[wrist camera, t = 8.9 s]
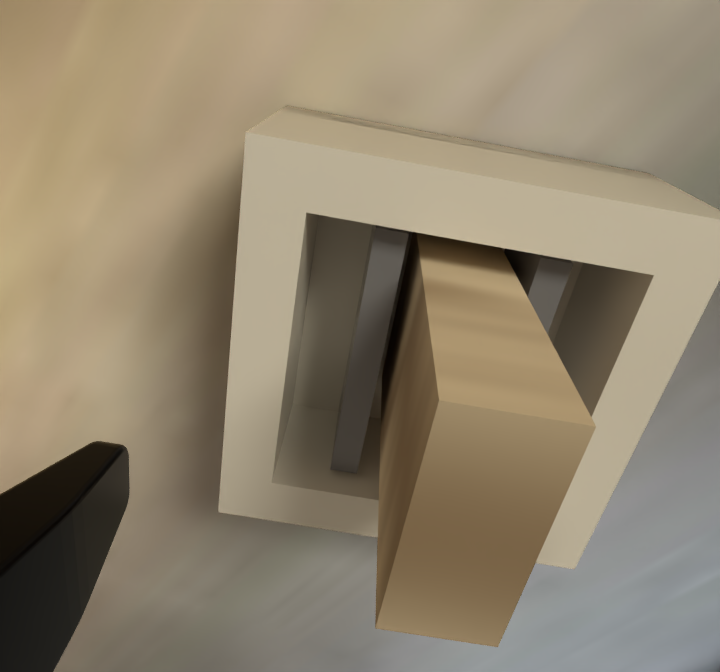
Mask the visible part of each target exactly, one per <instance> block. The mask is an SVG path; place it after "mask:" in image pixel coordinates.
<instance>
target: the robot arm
mask: <svg viewBox="0 0 720 672" xmlns="http://www.w3.org/2000/svg"><path fill="white" fill-rule="evenodd" d="M128 499H129V455H128V451H127V448H126V447H125V446H123V445H120V444H114V443H108V442H102V441H96V442H92V443H90V444H88V445H86V446H85V447H83V448H81V449H79V450H78V451H76V452H74V453H72V454H71V455H69V456H67V457H65V458H63V459H62V460H60V461H58V462H56V463H55V464H53V465H51V466H49V467H48V468H46V469H44V470H42V471H41V472H39V473H37V474H35V475H33V476H32V477H30V478H28V479H26V480H25V481H23V482H21V483H19V484H18V485H16V486H14V487H12V488H11V489H9V490H7V491H5V492H3V493H2V494H0V672H53V671H54V669H55V667H56V665H57V663H58V662H59V660H60V658H61V656H62V654H63V652H64V650H65V649H66V647H67V645H68V643H69V641H70V639H71V637H72V635H73V633H74V631H75V629H76V627H77V625H78V623H79V621H80V619H81V617H82V615H83V613H84V610H85V608H86V606H87V603H88V601H89V599H90V596H91V594H92V591H93V589H94V586H95V584H96V581H97V579H98V576H99V574H100V571H101V569H102V567H103V564H104V562H105V559H106V557H107V554H108V552H109V549H110V547H111V544H112V542H113V539H114V537H115V534H116V532H117V529H118V527H119V524H120V522H121V519H122V517H123V515H124V512H125V509H126V507H127V503H128Z"/></svg>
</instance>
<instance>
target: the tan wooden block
mask: <svg viewBox="0 0 720 672" xmlns="http://www.w3.org/2000/svg"><path fill="white" fill-rule="evenodd" d="M595 428H596V425H595V423H594V421H593V420H592V418H591V416H590V414H589V412H588V410H587V408H586V406H585V404H584V403H583V401H582V399H581V397H580V395H579V393H578V391H577V389H576V387H575V386H574V384H573V382H572V380H571V378H570V376H569V374H568V372H567V370H566V369H565V367H564V365H563V363H562V361H561V359H560V357H559V355H558V353H557V352H556V350H555V348H554V346H553V344H552V342H551V340H550V338H549V336H548V335H547V333H546V331H545V329H544V327H543V325H542V323H541V321H540V319H539V318H538V316H537V314H536V312H535V310H534V308H533V306H532V304H531V302H530V301H529V299H528V297H527V295H526V293H525V291H524V289H523V287H522V285H521V284H520V282H519V280H518V278H517V276H516V274H515V272H514V270H513V268H512V267H511V265H510V263H509V261H508V259H507V257H506V255H505V253H504V251H503V250H502V248H500V247H495V246H489V245H484V244H478V243H472V242H467V241H461V240H456V239H450V238H445V237H439V236H434V235H428V234H423V233H417V232H413V234H412V239H411V243H410V248H409V252H408V257H407V262H406V266H405V271H404V275H403V280H402V285H401V289H400V294H399V298H398V303H397V308H396V312H395V317H394V321H393V326H392V331H391V335H390V340H389V344H388V349H387V354H386V358H385V363H384V367H383V372H382V392H381V431H380V469H379V507H378V546H377V584H376V623H375V628H376V629H383V630H389V631H396V632H402V633H409V634H416V635H422V636H429V637H435V638H442V639H448V640H455V641H461V642H468V643H474V644H481V645H488V646H494V647H498V645H499V643H500V641H501V639H502V636H503V634H504V632H505V630H506V628H507V625H508V623H509V621H510V619H511V616H512V614H513V612H514V610H515V607H516V605H517V603H518V601H519V598H520V596H521V594H522V592H523V589H524V587H525V585H526V583H527V581H528V578H529V576H530V574H531V572H532V569H533V567H534V565H535V563H536V560H537V558H538V556H539V554H540V551H541V549H542V547H543V545H544V542H545V540H546V538H547V536H548V534H549V531H550V529H551V527H552V525H553V522H554V520H555V518H556V516H557V513H558V511H559V509H560V507H561V504H562V502H563V500H564V498H565V495H566V493H567V491H568V489H569V487H570V484H571V482H572V480H573V478H574V475H575V473H576V471H577V469H578V466H579V464H580V462H581V460H582V457H583V455H584V453H585V451H586V448H587V446H588V444H589V442H590V440H591V437H592V435H593V433H594V431H595Z"/></svg>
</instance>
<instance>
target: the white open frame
mask: <svg viewBox="0 0 720 672" xmlns="http://www.w3.org/2000/svg"><path fill="white" fill-rule="evenodd" d="M413 232H417V233H423V234H428V235H434V236H439V237H445V238H450V239H456V240H461V241H467V242H472V243H478V244H484V245H489V246H495V247H500V248H502V250H503V251H504V253H505V255H506V257H507V259H508V261H509V263H510V265H511V267H512V268H513V270H514V272H515V274H516V276H517V278H518V280H519V282H520V284H521V285H522V287H523V289H524V291H525V293H526V295H527V297H528V299H529V301H530V302H531V304H532V306H533V308H534V310H535V312H536V314H537V316H538V318H539V319H540V321H541V323H542V325H543V327H544V329H545V331H546V333H547V335H548V336H549V338H550V340H551V342H552V344H553V346H554V348H555V350H556V352H557V353H558V355H559V357H560V359H561V361H562V363H563V365H564V367H565V369H566V370H567V372H568V374H569V376H570V378H571V380H572V382H573V384H574V386H575V387H576V389H577V391H578V393H579V395H580V397H581V399H582V401H583V403H584V404H585V406H586V408H587V410H588V412H589V414H590V416H591V418H592V420H593V421H594V423H595V425H596V428H595V431H594V433H593V435H592V437H591V440H590V442H589V444H588V446H587V448H586V451H585V453H584V455H583V457H582V460H581V462H580V464H579V466H578V469H577V471H576V473H575V475H574V478H573V480H572V482H571V484H570V487H569V489H568V491H567V493H566V495H565V498H564V500H563V502H562V504H561V507H560V509H559V511H558V513H557V516H556V518H555V520H554V522H553V525H552V527H551V529H550V531H549V534H548V536H547V538H546V540H545V542H544V545H543V547H542V549H541V551H540V554H539V556H538V558H537V560H536V563H539V564H545V565H551V566H557V567H563V568H570V569H575V567H576V565H577V563H578V561H579V559H580V557H581V555H582V553H583V551H584V549H585V547H586V545H587V543H588V541H589V539H590V537H591V535H592V533H593V531H594V529H595V527H596V525H597V523H598V521H599V519H600V517H601V515H602V513H603V511H604V509H605V507H606V505H607V504H608V502H609V500H610V498H611V496H612V494H613V492H614V490H615V488H616V486H617V484H618V482H619V480H620V478H621V476H622V474H623V472H624V470H625V468H626V466H627V464H628V462H629V460H630V458H631V456H632V454H633V452H634V450H635V448H636V446H637V444H638V442H639V440H640V438H641V436H642V434H643V432H644V430H645V428H646V426H647V424H648V422H649V420H650V418H651V416H652V414H653V412H654V410H655V408H656V406H657V404H658V402H659V400H660V398H661V396H662V394H663V392H664V390H665V388H666V386H667V384H668V382H669V380H670V378H671V376H672V374H673V372H674V370H675V368H676V366H677V364H678V362H679V360H680V358H681V356H682V354H683V352H684V350H685V348H686V346H687V344H688V342H689V340H690V338H691V336H692V334H693V332H694V330H695V328H696V326H697V324H698V322H699V320H700V318H701V316H702V314H703V312H704V310H705V308H706V306H707V304H708V302H709V300H710V298H711V296H712V294H713V292H714V290H715V288H716V286H717V284H718V282H719V280H720V210H718V209H716V208H714V207H712V206H710V205H708V204H707V203H705V202H703V201H701V200H699V199H697V198H695V197H693V196H691V195H689V194H687V193H686V192H684V191H682V190H680V189H678V188H676V187H674V186H672V185H670V184H668V183H666V182H664V181H663V180H661V179H659V178H657V177H655V176H653V175H651V174H649V173H645V172H640V171H634V170H629V169H624V168H618V167H613V166H607V165H602V164H597V163H591V162H586V161H581V160H575V159H570V158H565V157H559V156H554V155H549V154H543V153H538V152H533V151H527V150H522V149H517V148H511V147H506V146H501V145H495V144H490V143H485V142H479V141H474V140H468V139H463V138H458V137H452V136H447V135H442V134H436V133H431V132H426V131H420V130H415V129H410V128H404V127H399V126H394V125H388V124H383V123H378V122H372V121H367V120H362V119H356V118H351V117H345V116H340V115H335V114H329V113H324V112H319V111H313V110H308V109H303V108H297V107H292V106H285V107H284V108H282V109H281V110H279V111H278V112H276V113H274V114H273V115H271V116H270V117H268V118H267V119H265V120H264V121H262V122H261V123H259V124H257V125H256V126H254V127H253V128H251V129H250V130H248V131H247V132H246V135H245V149H244V163H243V177H242V191H241V204H240V218H239V232H238V246H237V260H236V273H235V287H234V301H233V315H232V329H231V342H230V356H229V370H228V384H227V397H226V411H225V425H224V439H223V453H222V466H221V480H220V494H219V508H218V512H221V513H227V514H233V515H239V516H246V517H252V518H258V519H264V520H271V521H277V522H283V523H289V524H296V525H302V526H308V527H314V528H320V529H327V530H333V531H339V532H345V533H352V534H358V535H364V536H370V537H377V538H378V507H379V469H380V431H381V392H382V372H383V367H384V363H385V358H386V354H387V349H388V344H389V340H390V335H391V331H392V326H393V321H394V317H395V312H396V308H397V303H398V298H399V294H400V289H401V285H402V280H403V275H404V271H405V266H406V262H407V257H408V252H409V248H410V243H411V239H412V234H413Z"/></svg>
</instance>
